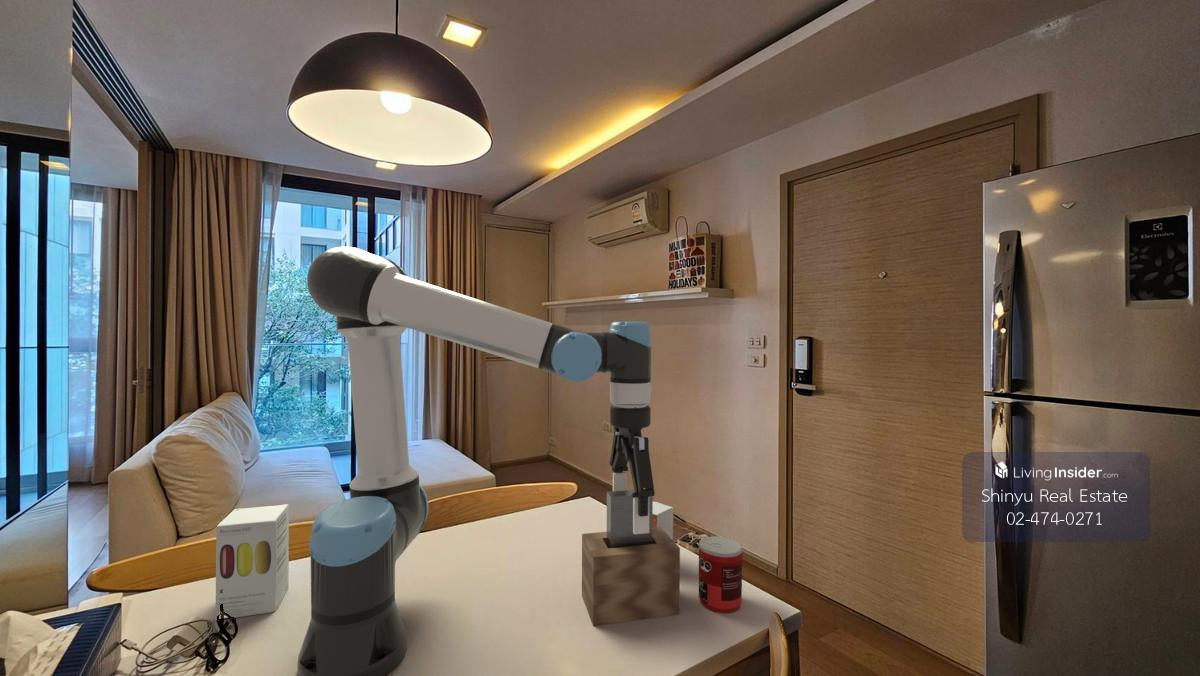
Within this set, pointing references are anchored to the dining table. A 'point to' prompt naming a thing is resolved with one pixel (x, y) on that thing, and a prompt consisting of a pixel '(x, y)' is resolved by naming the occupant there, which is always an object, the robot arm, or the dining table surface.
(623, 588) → the wooden planter box
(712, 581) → the canned food
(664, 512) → the small box
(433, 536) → the dining table surface
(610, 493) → the grey slab
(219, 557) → the supplement box
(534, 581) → the dining table surface
